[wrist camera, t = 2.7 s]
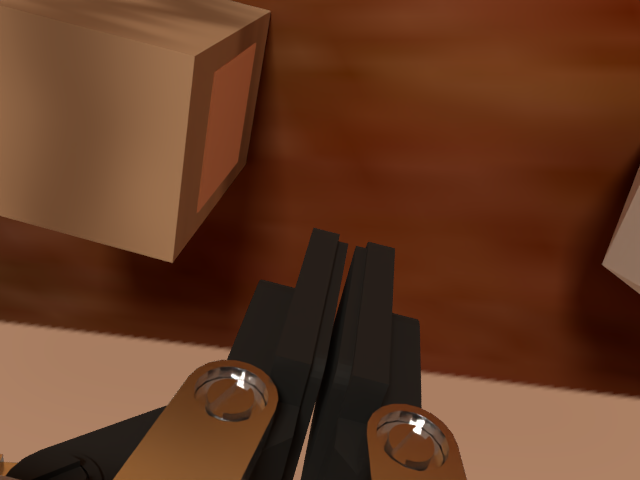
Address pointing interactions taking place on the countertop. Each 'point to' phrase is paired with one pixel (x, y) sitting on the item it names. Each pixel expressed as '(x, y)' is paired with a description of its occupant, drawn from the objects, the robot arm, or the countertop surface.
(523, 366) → the countertop surface
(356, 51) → the countertop surface
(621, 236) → the die
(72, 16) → the block
